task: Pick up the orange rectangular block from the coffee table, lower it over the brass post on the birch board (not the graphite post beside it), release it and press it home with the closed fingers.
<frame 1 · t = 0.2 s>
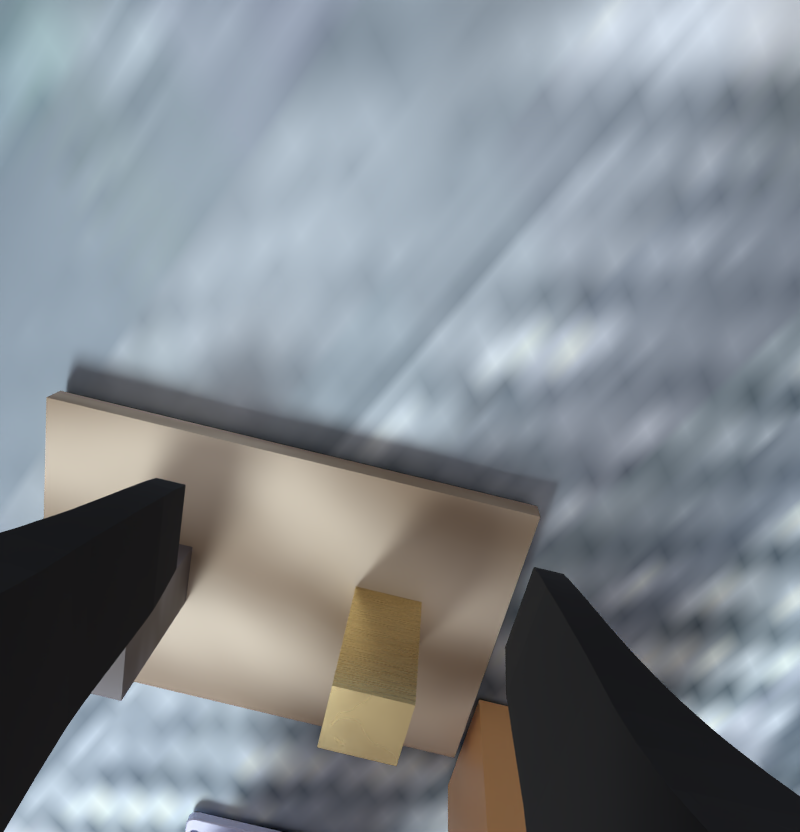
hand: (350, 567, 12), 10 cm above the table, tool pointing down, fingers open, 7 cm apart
orange rectangular block: (520, 757, 26), on the table
brass post: (383, 608, 24), resting on post board
post board: (274, 581, 24), on the table
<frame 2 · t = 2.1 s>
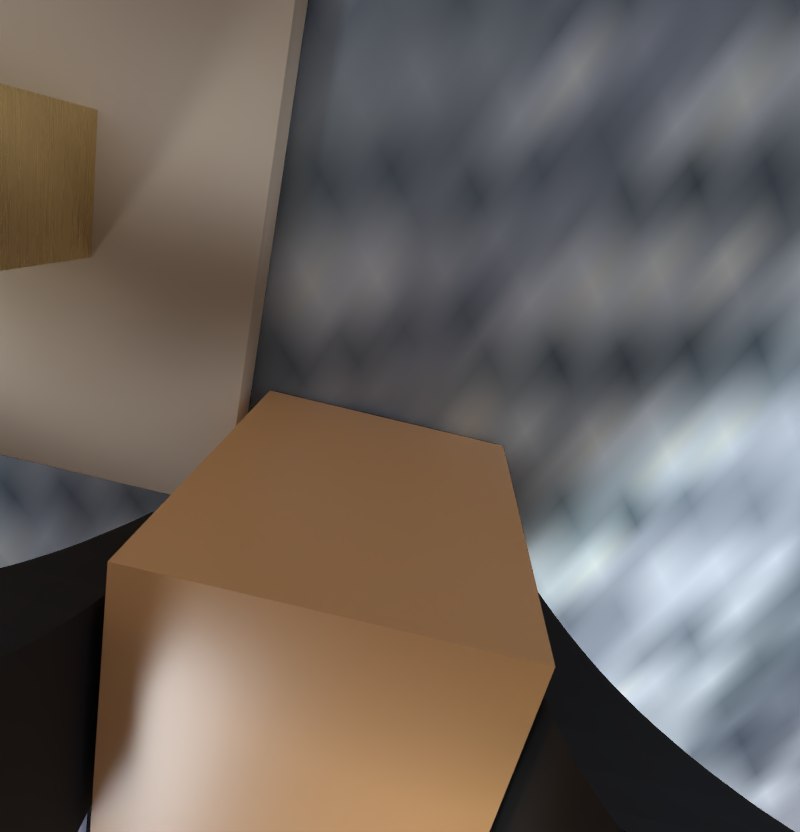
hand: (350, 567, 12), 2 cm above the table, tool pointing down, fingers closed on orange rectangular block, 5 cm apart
orange rectangular block: (362, 520, 14), on the table, touching gripper
brass post: (52, 172, 12), resting on post board
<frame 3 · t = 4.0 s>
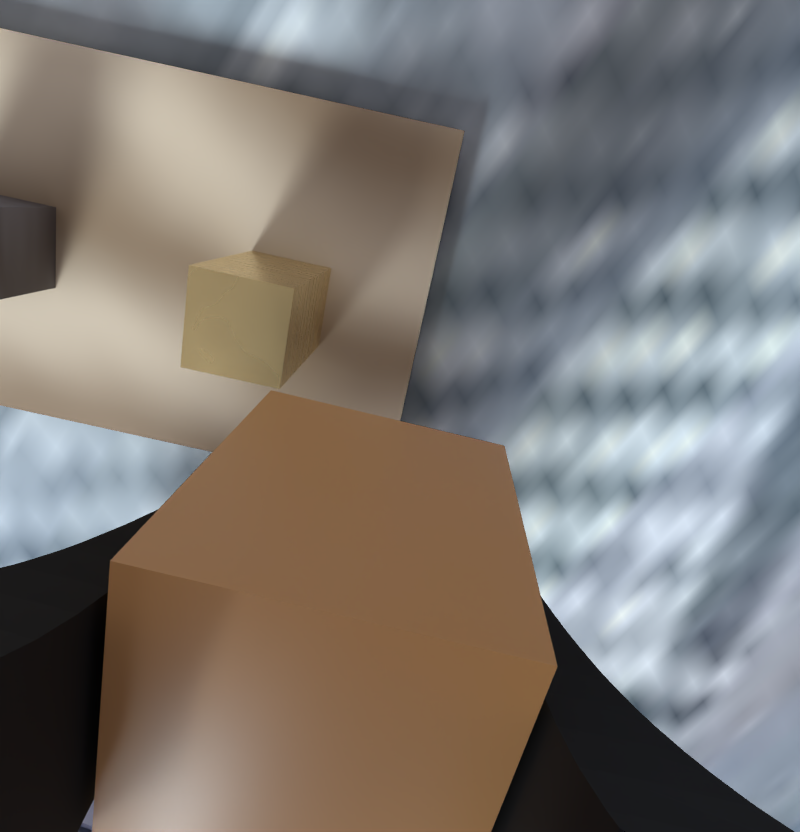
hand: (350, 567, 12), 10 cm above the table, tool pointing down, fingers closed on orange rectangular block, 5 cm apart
orange rectangular block: (363, 520, 14), point 8 cm above the table, touching gripper
brass post: (291, 295, 20), resting on post board
post board: (162, 267, 20), on the table
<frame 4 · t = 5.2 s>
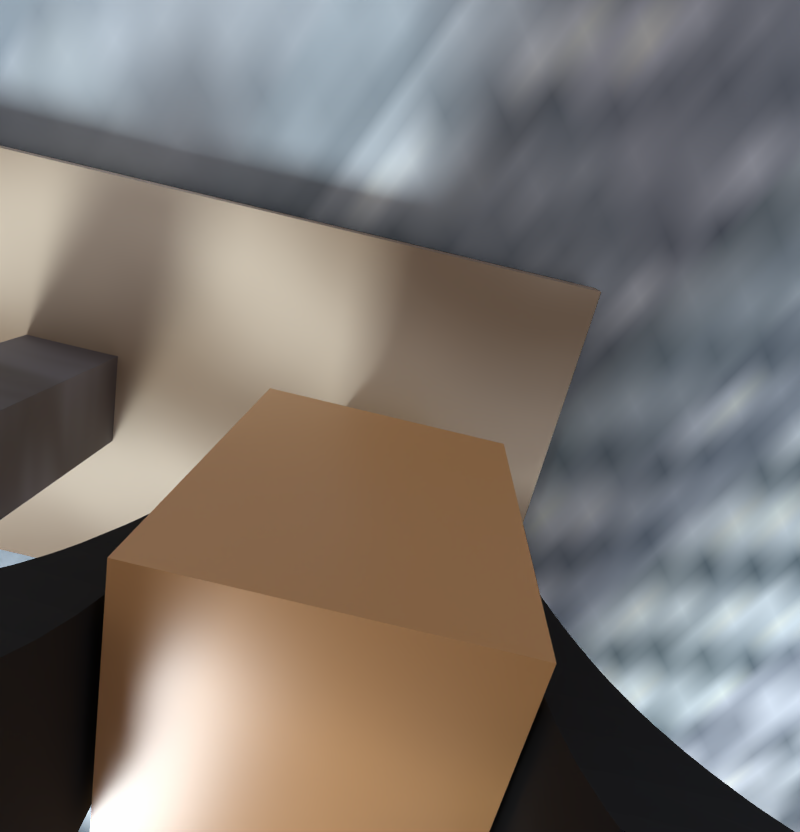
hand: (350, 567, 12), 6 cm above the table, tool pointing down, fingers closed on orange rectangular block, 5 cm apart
orange rectangular block: (363, 518, 14), point 4 cm above the table, touching gripper
post board: (234, 416, 18), on the table
when the fingers open (4 cm above the table, at t = 6.2 s): orange rectangular block drops 1 cm, resting on post board.
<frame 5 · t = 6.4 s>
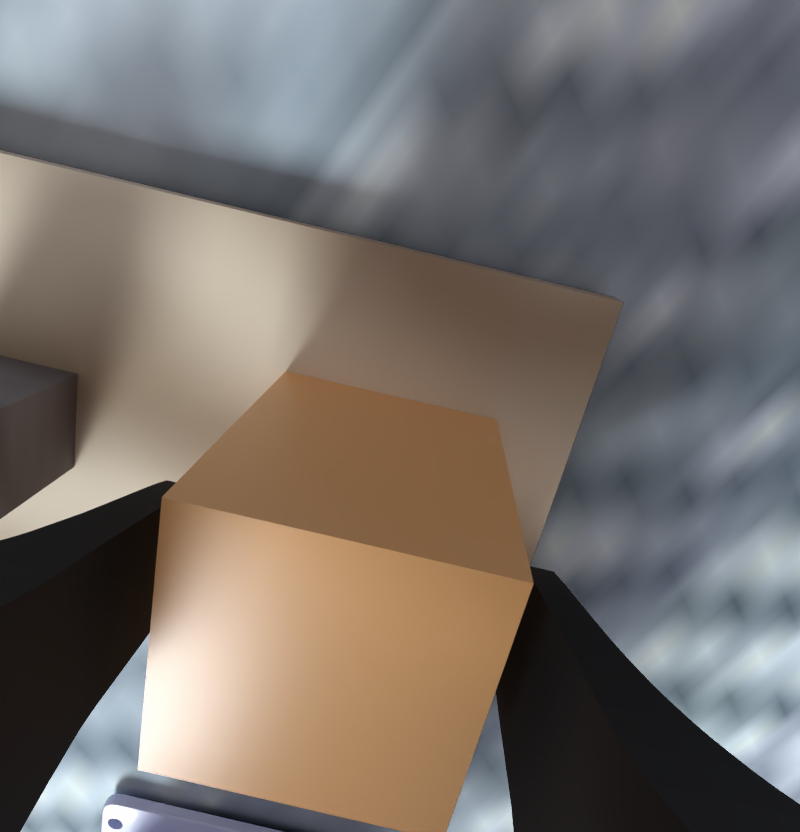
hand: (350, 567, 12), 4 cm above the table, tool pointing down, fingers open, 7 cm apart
orange rectangular block: (370, 490, 15), point 1 cm above the table, touching post board
post board: (210, 439, 16), on the table
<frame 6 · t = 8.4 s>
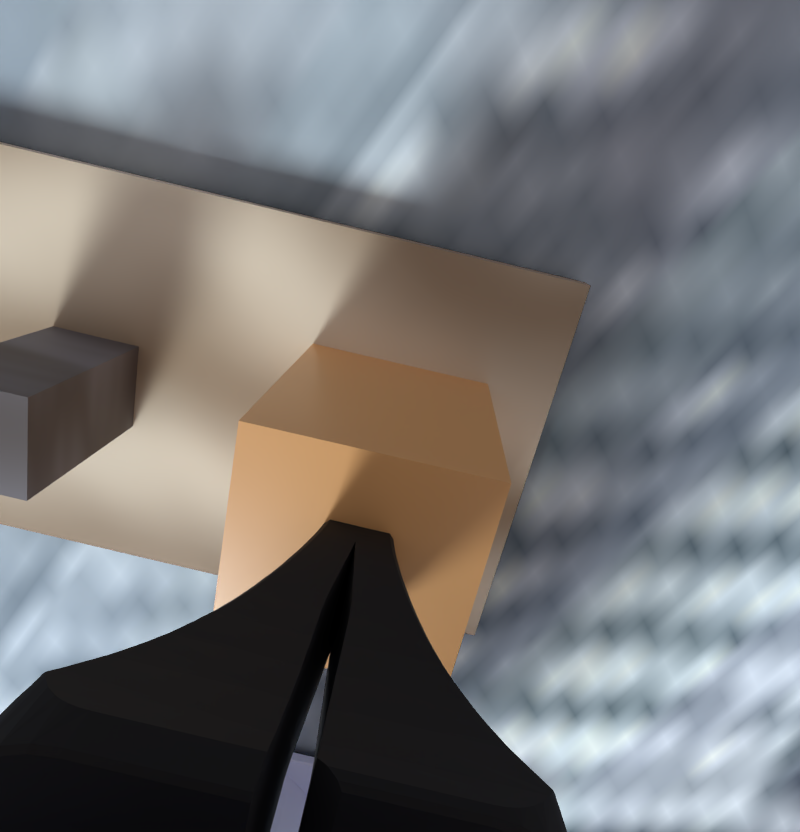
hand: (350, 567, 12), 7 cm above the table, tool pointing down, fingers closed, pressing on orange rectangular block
orange rectangular block: (382, 444, 18), point 1 cm above the table, touching gripper, post board
post board: (246, 403, 19), on the table
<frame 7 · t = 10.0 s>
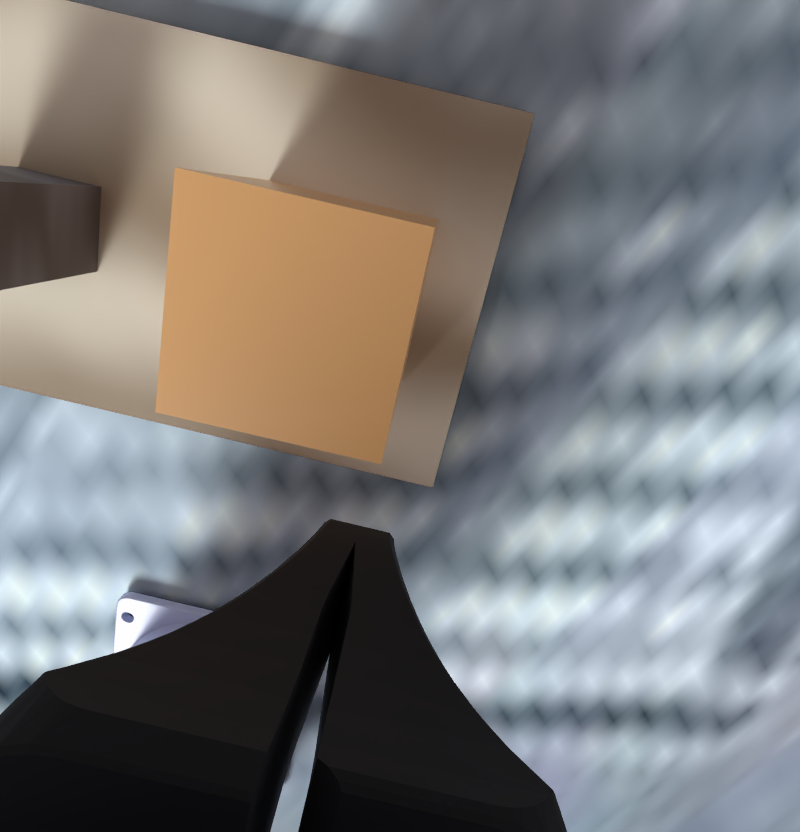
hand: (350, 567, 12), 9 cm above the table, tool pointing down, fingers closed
orange rectangular block: (338, 286, 19), point 1 cm above the table, touching post board
post board: (208, 252, 19), on the table
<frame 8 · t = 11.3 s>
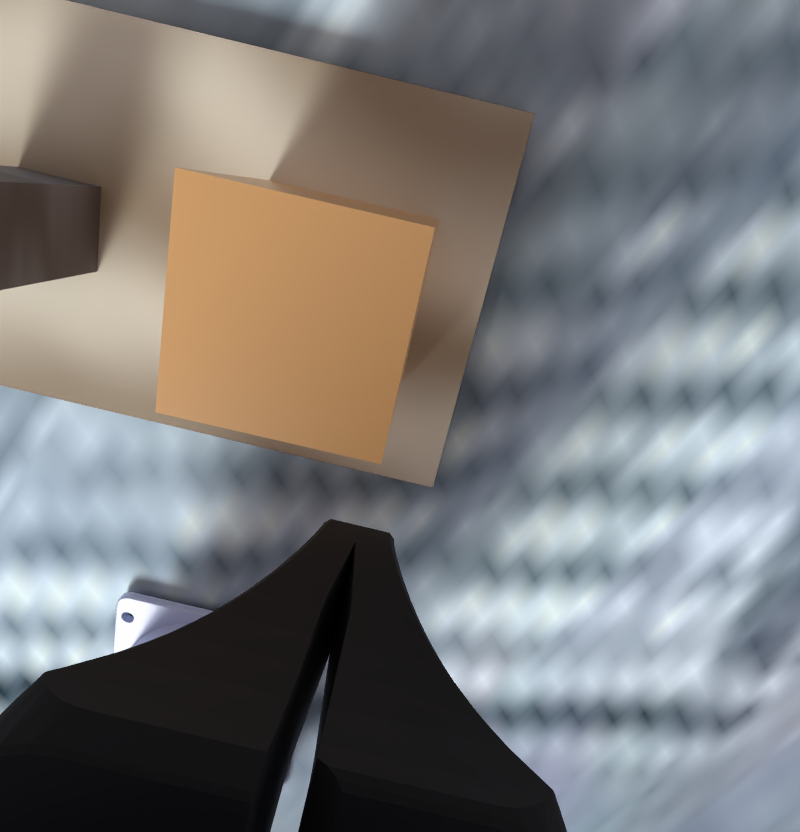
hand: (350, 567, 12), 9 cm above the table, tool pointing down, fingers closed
orange rectangular block: (338, 286, 19), point 1 cm above the table, touching post board
post board: (208, 252, 19), on the table
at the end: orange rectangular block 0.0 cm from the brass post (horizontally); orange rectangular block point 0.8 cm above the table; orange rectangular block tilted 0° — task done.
